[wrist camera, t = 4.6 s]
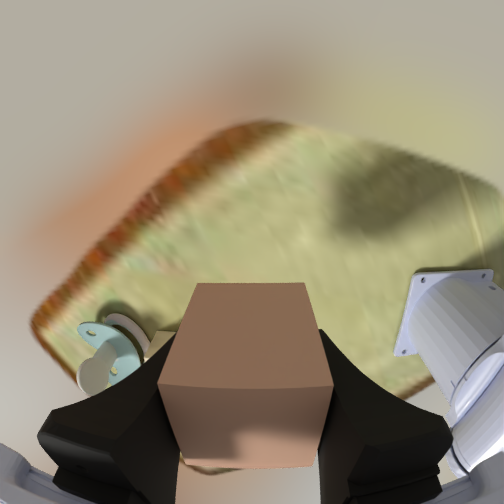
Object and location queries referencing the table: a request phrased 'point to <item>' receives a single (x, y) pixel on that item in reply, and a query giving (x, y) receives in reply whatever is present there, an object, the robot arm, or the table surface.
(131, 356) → the pacifier
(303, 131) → the table surface
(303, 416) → the terracotta block
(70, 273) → the table surface
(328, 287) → the table surface
